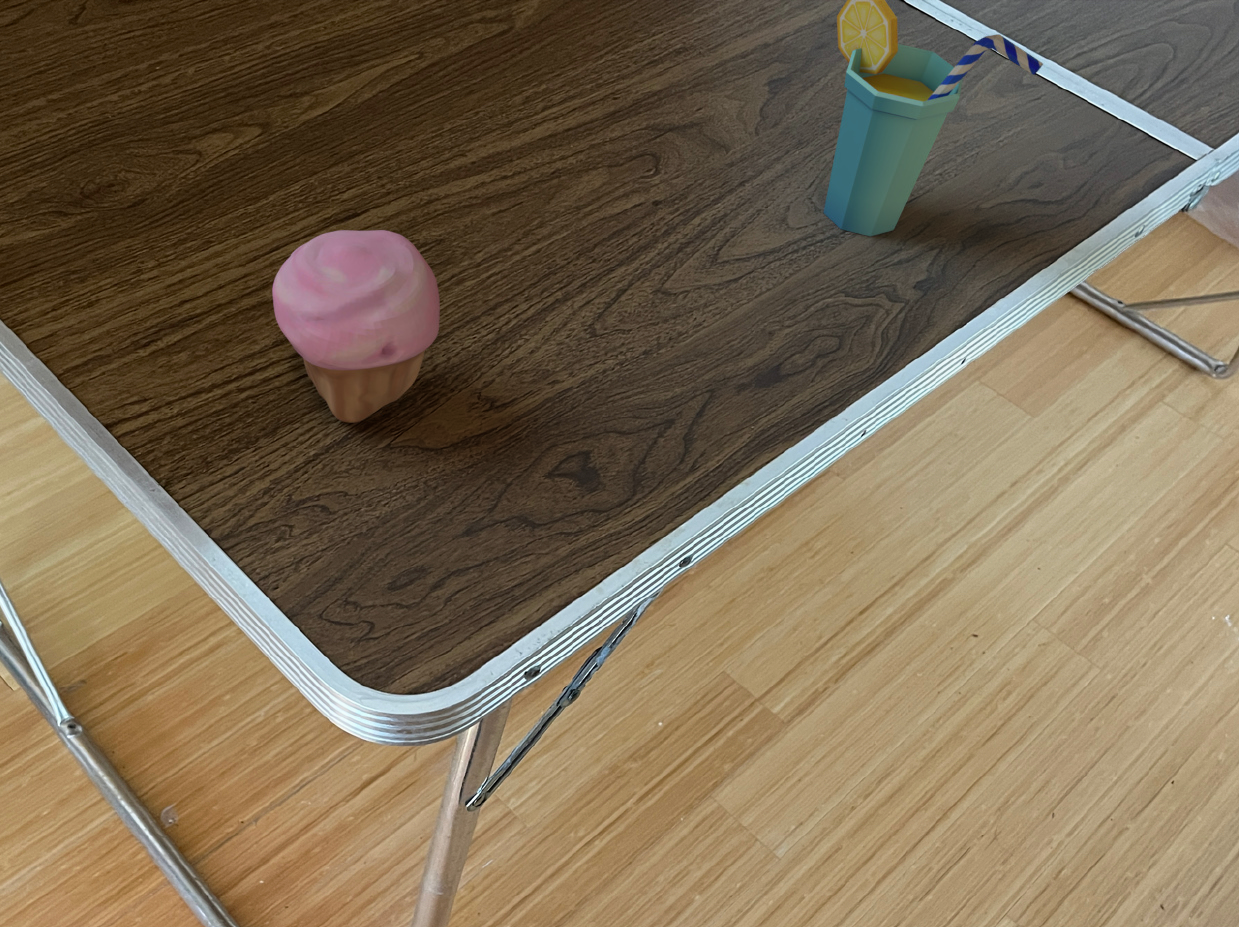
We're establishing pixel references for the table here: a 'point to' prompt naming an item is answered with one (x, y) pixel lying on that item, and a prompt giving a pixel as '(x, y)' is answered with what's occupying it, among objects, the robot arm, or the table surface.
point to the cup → (891, 114)
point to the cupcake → (358, 316)
